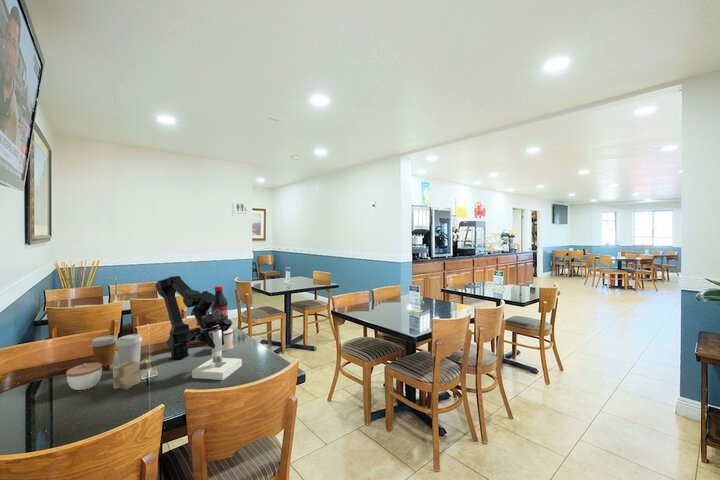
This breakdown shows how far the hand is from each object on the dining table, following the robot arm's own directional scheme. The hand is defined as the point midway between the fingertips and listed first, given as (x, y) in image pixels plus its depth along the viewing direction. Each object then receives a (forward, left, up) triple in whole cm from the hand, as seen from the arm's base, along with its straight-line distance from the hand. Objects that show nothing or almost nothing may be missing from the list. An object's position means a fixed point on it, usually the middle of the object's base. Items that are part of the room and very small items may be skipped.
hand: (218, 346), depth 136 cm
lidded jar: (-45, -19, -11) cm, 50 cm away
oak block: (-30, -15, -11) cm, 36 cm away
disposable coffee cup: (-59, +1, -11) cm, 60 cm away
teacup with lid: (-16, +27, -11) cm, 33 cm away
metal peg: (-1, +1, -7) cm, 7 cm away
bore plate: (-1, +1, -11) cm, 11 cm away
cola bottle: (-25, +38, -11) cm, 47 cm away
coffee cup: (-40, -4, -11) cm, 42 cm away
